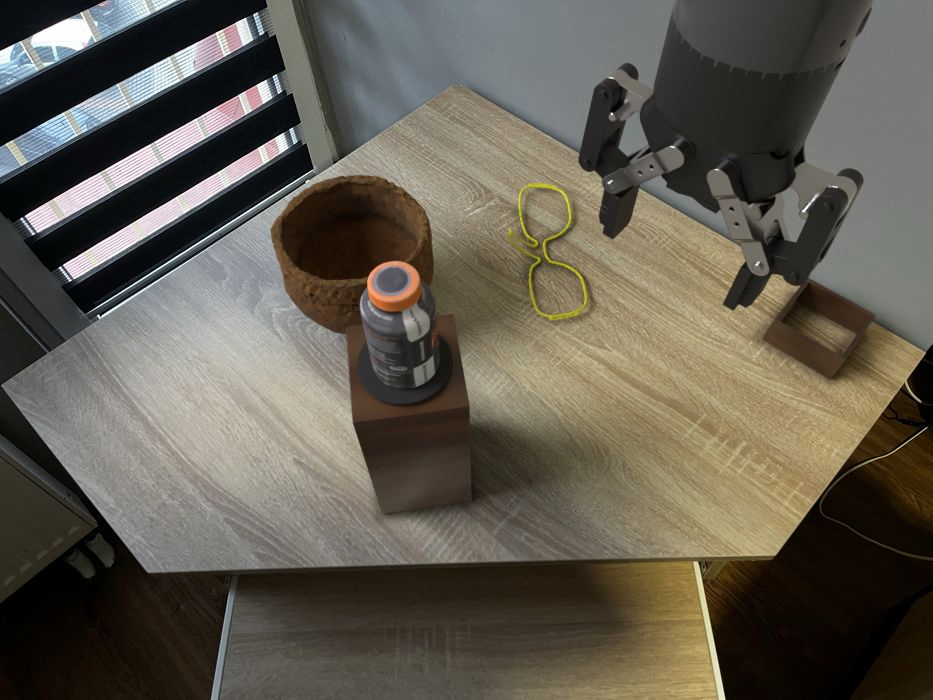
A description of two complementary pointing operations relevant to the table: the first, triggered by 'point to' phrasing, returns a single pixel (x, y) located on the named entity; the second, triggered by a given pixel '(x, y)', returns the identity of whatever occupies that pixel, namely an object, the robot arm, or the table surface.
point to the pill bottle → (400, 325)
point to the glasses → (546, 253)
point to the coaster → (405, 395)
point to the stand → (415, 436)
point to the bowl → (347, 244)
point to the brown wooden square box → (831, 308)
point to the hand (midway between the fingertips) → (673, 263)
